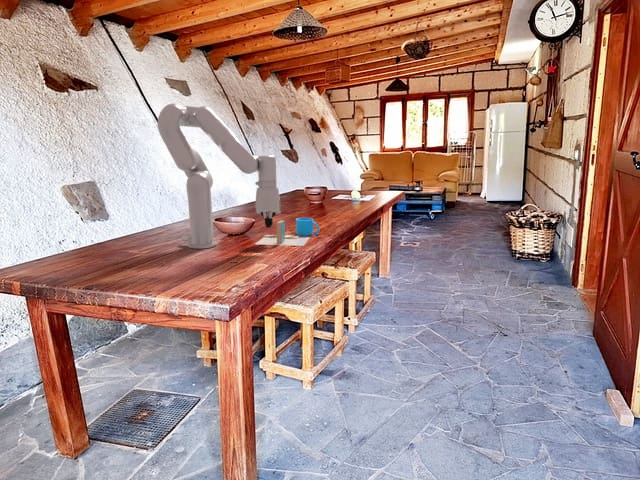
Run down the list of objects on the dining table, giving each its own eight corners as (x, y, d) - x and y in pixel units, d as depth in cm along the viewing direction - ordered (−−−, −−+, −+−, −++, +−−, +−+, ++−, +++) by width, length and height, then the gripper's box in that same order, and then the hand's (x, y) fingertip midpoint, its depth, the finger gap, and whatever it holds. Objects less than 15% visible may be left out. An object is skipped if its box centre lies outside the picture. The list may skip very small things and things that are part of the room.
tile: (276, 243, 201) (276, 222, 199) (280, 240, 208) (280, 220, 206) (281, 243, 201) (281, 223, 199) (284, 240, 208) (284, 220, 206)
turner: (262, 237, 213) (262, 236, 212) (265, 235, 217) (265, 234, 217) (297, 238, 210) (297, 237, 210) (299, 236, 215) (299, 235, 215)
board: (254, 246, 200) (254, 244, 200) (265, 238, 218) (265, 235, 217) (303, 248, 197) (303, 245, 197) (310, 239, 215) (310, 237, 214)
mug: (292, 236, 221) (292, 219, 219) (302, 233, 228) (301, 217, 226) (314, 239, 215) (314, 221, 214) (323, 236, 222) (323, 219, 221)
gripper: (248, 185, 197) (249, 228, 201) (282, 185, 195) (283, 229, 199) (253, 183, 204) (254, 225, 208) (286, 184, 202) (287, 225, 206)
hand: (268, 226), depth 204 cm, fingers closed
